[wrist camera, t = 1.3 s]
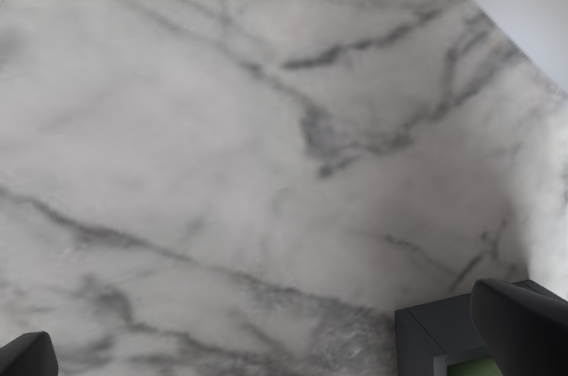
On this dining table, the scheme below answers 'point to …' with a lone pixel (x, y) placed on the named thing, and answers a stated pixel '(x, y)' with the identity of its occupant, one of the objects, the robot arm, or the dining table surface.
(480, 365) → the green cup
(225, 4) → the dining table surface
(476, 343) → the cup holder
